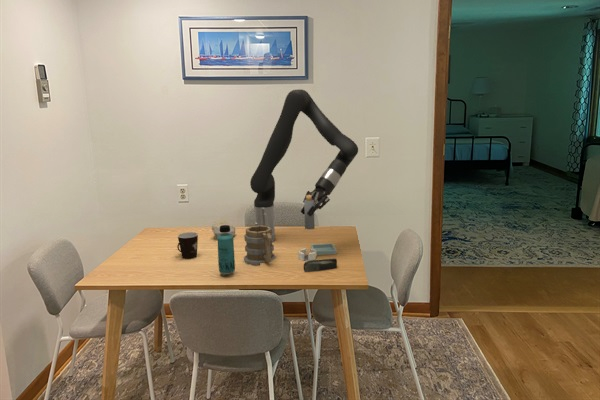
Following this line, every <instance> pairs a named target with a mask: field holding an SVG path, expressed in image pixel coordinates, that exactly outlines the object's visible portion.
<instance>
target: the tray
mask: <svg viewBox="0 0 600 400" xmlns="http://www.w3.org/2000/svg"><path fill="white" fill-rule="evenodd" d="M310 249H315V250H317V256H322V255H323V256H325V255H326V256H327V255H337V254H338V253H337V251H338V250H337V248H336V246H335V245H334V243H316V244H310Z"/></svg>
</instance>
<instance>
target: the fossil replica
mask: <svg viewBox="0 0 600 400" xmlns="http://www.w3.org/2000/svg"><path fill="white" fill-rule="evenodd" d="M222 225H229V226H230V232H225V233H230V234H231V235H233V237H234V236H235V234H236V227H235V226H234V225H231V224H229V223H228V221H226V220H222V221H217V222H215V221H214V223H213V224H212V226H211V230H212V233H213V234H214V237H215V238H216V239H217V237H218V236H219V235H220V234H222V233H223V232H220V226H222Z"/></svg>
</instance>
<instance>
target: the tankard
mask: <svg viewBox="0 0 600 400" xmlns="http://www.w3.org/2000/svg"><path fill="white" fill-rule="evenodd" d="M243 236H244V241H245V242H246V243H245V244H246V245H245V246H244V250H245V253H246V255H244V256H243V260H244V261H245V263H246V264H247V265H251V266H261V264H265V263H270V262H272V261H273V260H275V259H276V258H277V256H276V255H275V254H274V253H273V251H274V250H275V248H274V247H275V246H274V244H273V242H272V240H273V234H272V230H271V228H270V227H269V226H262V225H260V226H259V225H258V226H255V225H252V226H249V227H246V229H245V234H244V235H243Z"/></svg>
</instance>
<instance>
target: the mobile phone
mask: <svg viewBox="0 0 600 400" xmlns="http://www.w3.org/2000/svg"><path fill="white" fill-rule="evenodd" d="M337 268H338V259H337V258H322V259H316V260H310V261H304V263H303V271H304V273H311V272H321V271H329V270H336V269H337Z"/></svg>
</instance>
